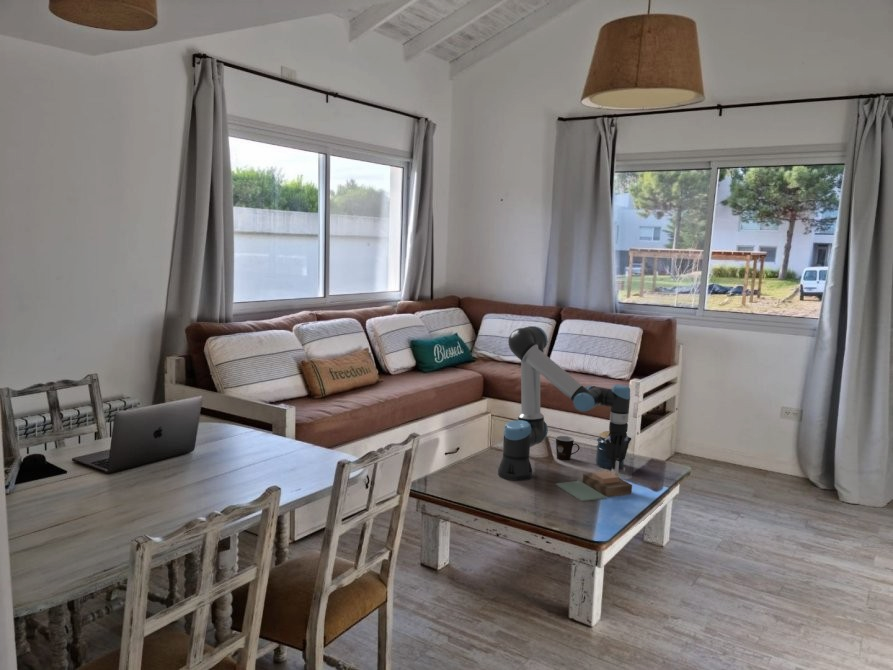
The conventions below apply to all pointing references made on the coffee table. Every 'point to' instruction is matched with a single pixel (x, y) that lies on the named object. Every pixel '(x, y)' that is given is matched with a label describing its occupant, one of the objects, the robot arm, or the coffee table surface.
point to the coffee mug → (564, 447)
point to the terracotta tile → (605, 477)
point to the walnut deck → (608, 486)
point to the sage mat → (581, 491)
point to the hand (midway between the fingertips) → (614, 475)
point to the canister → (604, 452)
